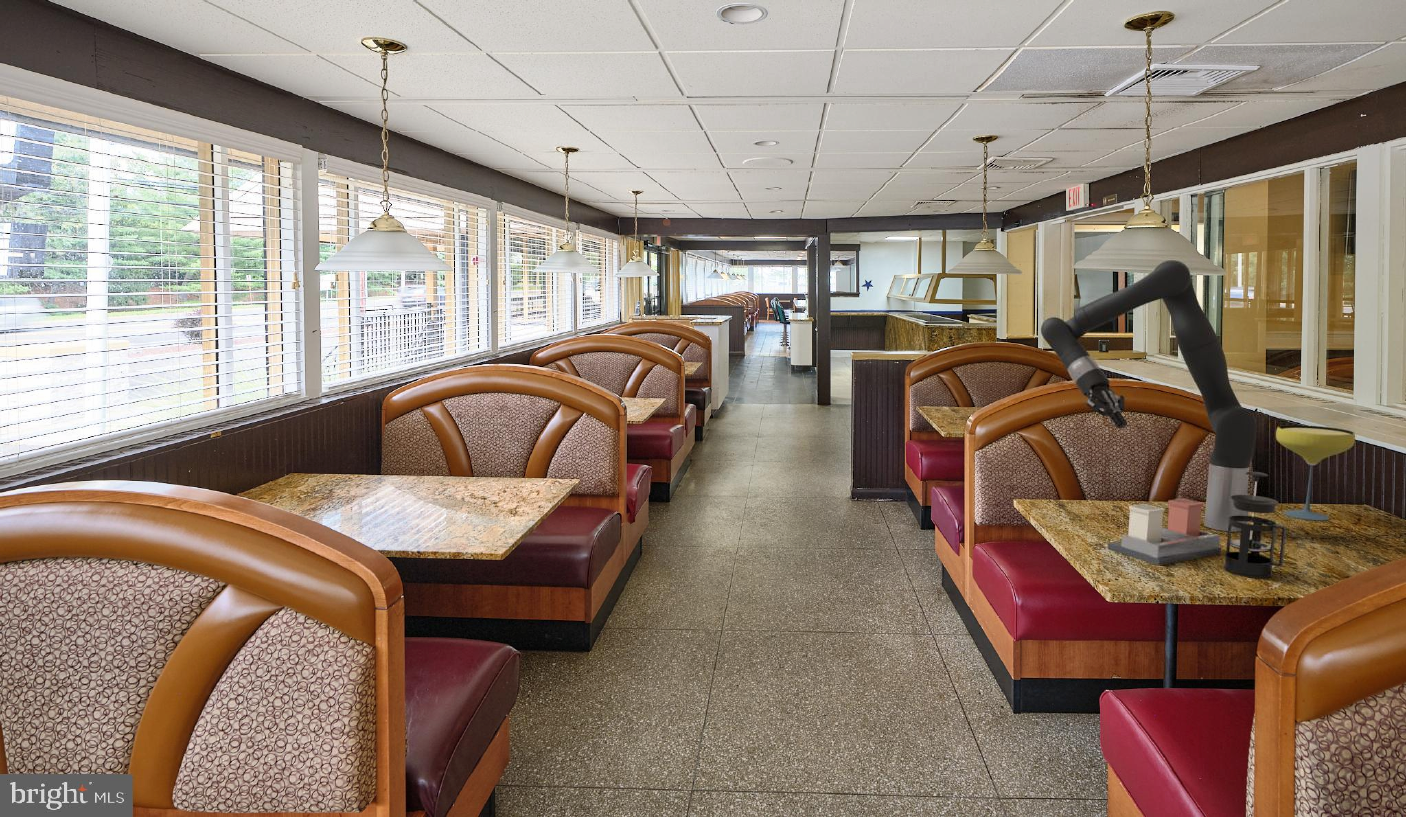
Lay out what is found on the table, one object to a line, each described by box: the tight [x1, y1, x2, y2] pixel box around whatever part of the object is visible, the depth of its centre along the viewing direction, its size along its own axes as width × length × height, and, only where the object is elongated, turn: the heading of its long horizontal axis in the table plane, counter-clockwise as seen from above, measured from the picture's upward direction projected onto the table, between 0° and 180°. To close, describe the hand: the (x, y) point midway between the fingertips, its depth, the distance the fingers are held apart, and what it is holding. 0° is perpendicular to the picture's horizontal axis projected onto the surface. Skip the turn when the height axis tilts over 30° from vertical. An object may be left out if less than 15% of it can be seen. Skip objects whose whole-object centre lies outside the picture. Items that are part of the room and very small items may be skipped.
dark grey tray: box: [1107, 527, 1222, 566], centre depth 207 cm, size 14×22×4 cm, turn 115°
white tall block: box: [1127, 503, 1166, 544], centre depth 204 cm, size 5×5×10 cm
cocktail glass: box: [1275, 424, 1356, 522], centre depth 240 cm, size 18×18×25 cm
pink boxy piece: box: [1167, 498, 1204, 537], centre depth 210 cm, size 5×5×10 cm
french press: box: [1223, 471, 1287, 579], centre depth 190 cm, size 12×9×23 cm
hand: (1123, 426), depth 224 cm, fingers closed
